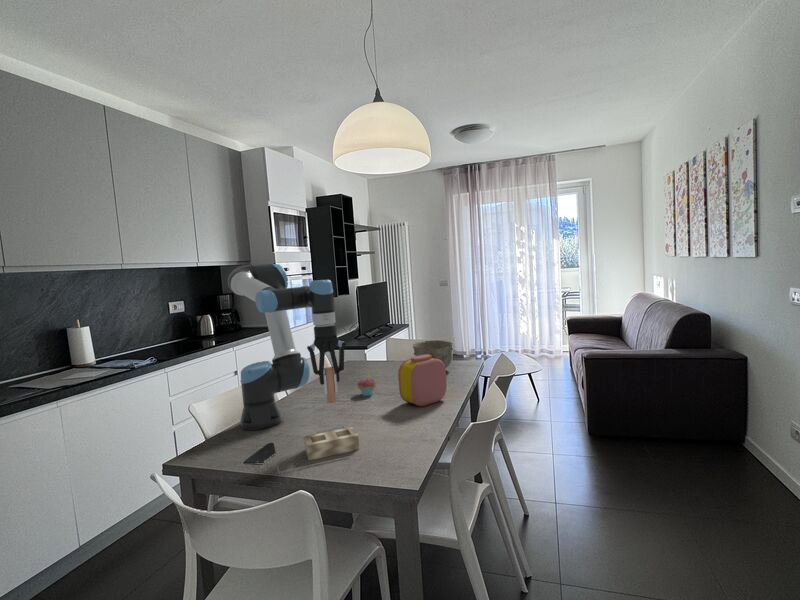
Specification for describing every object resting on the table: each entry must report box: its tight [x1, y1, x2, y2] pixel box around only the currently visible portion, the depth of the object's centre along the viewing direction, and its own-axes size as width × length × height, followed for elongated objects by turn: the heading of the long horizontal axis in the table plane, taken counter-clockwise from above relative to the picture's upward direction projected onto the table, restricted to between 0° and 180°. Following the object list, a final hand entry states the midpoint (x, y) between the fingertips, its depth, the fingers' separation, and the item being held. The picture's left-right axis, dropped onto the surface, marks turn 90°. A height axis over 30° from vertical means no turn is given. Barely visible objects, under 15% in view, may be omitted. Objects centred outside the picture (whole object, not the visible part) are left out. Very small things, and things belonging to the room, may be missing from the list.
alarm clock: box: [397, 354, 448, 407], centre depth 181 cm, size 18×11×19 cm, turn 126°
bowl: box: [412, 339, 454, 370], centre depth 230 cm, size 22×22×15 cm
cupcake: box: [357, 368, 377, 397], centre depth 197 cm, size 9×8×12 cm
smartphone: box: [243, 442, 277, 464], centre depth 141 cm, size 7×1×15 cm
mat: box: [316, 426, 345, 434], centre depth 152 cm, size 10×10×1 cm
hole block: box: [303, 426, 360, 461], centre depth 139 cm, size 16×8×5 cm, turn 110°
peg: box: [324, 366, 337, 404], centre depth 149 cm, size 3×3×12 cm
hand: (330, 392), depth 150 cm, fingers closed on peg, 3 cm apart
